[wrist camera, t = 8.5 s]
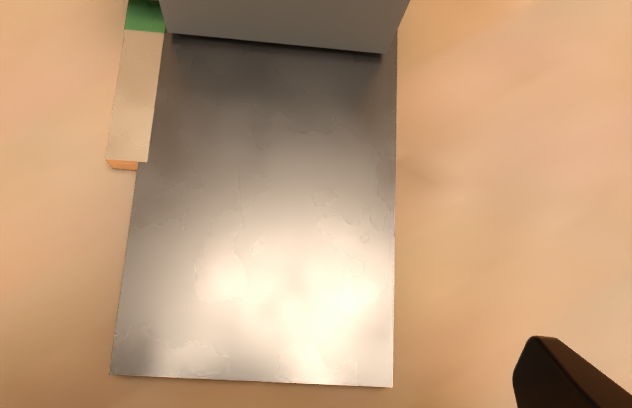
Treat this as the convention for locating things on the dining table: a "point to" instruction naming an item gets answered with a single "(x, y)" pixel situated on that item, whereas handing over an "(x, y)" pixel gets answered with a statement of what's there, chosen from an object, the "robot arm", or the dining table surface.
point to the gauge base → (255, 208)
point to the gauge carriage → (291, 21)
